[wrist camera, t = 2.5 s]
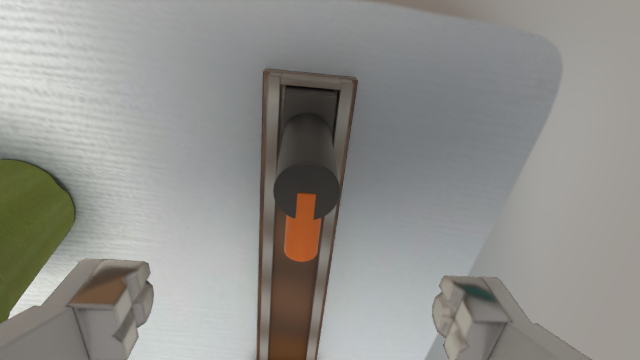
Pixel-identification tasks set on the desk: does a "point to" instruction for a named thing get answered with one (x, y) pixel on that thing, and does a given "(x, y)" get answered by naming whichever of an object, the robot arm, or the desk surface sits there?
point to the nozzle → (306, 168)
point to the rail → (274, 266)
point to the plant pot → (28, 227)
